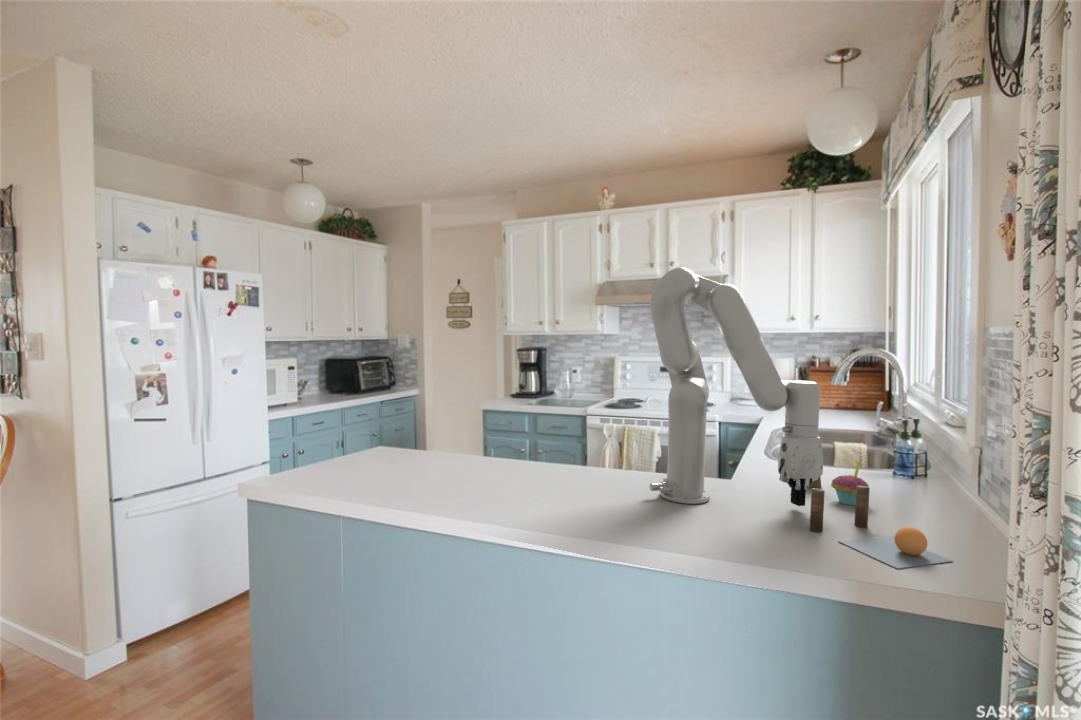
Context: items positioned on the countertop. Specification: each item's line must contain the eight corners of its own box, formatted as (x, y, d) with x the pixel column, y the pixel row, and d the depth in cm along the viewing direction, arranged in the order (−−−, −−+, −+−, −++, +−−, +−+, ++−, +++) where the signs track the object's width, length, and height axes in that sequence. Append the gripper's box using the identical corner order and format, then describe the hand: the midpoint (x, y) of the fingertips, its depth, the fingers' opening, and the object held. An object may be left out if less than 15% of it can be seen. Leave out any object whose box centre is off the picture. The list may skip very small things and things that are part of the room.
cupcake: (864, 500, 151) (866, 455, 151) (871, 509, 143) (873, 462, 143) (828, 496, 154) (830, 452, 153) (833, 505, 146) (835, 459, 145)
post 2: (861, 528, 129) (863, 489, 129) (851, 524, 132) (853, 485, 131) (870, 527, 130) (872, 488, 130) (860, 523, 133) (862, 485, 132)
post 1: (815, 532, 126) (817, 492, 125) (807, 528, 128) (808, 489, 128) (825, 531, 126) (827, 491, 126) (816, 527, 129) (818, 488, 128)
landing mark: (897, 569, 107) (897, 568, 107) (838, 542, 120) (838, 541, 120) (952, 561, 111) (952, 560, 111) (890, 536, 125) (890, 535, 125)
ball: (918, 543, 110) (895, 523, 114) (905, 563, 112) (883, 542, 117) (938, 539, 112) (915, 519, 116) (926, 559, 114) (903, 538, 119)
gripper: (786, 434, 135) (783, 511, 136) (837, 432, 139) (833, 506, 140) (765, 429, 142) (762, 501, 143) (814, 427, 146) (811, 498, 147)
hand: (797, 504), depth 142 cm, fingers closed
